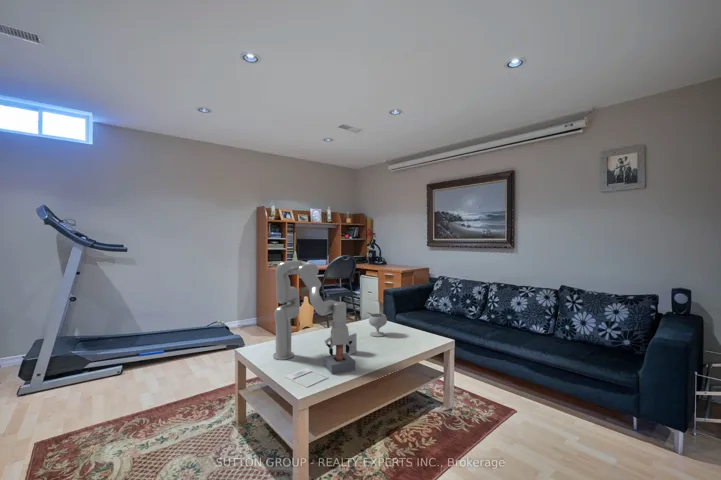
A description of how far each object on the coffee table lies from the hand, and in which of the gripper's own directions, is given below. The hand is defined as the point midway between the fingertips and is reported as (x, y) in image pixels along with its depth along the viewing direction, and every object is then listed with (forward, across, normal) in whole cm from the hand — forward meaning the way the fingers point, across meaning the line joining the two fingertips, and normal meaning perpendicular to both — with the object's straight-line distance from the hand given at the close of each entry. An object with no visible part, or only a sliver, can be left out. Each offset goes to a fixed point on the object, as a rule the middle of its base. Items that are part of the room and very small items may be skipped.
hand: (339, 353), depth 180 cm
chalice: (+8, +49, +47) cm, 68 cm away
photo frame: (+8, -20, -6) cm, 23 cm away
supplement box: (+8, +14, +20) cm, 26 cm away
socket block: (+8, 0, 0) cm, 8 cm away
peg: (+8, 0, 0) cm, 8 cm away
